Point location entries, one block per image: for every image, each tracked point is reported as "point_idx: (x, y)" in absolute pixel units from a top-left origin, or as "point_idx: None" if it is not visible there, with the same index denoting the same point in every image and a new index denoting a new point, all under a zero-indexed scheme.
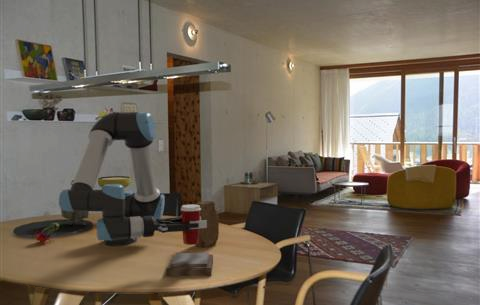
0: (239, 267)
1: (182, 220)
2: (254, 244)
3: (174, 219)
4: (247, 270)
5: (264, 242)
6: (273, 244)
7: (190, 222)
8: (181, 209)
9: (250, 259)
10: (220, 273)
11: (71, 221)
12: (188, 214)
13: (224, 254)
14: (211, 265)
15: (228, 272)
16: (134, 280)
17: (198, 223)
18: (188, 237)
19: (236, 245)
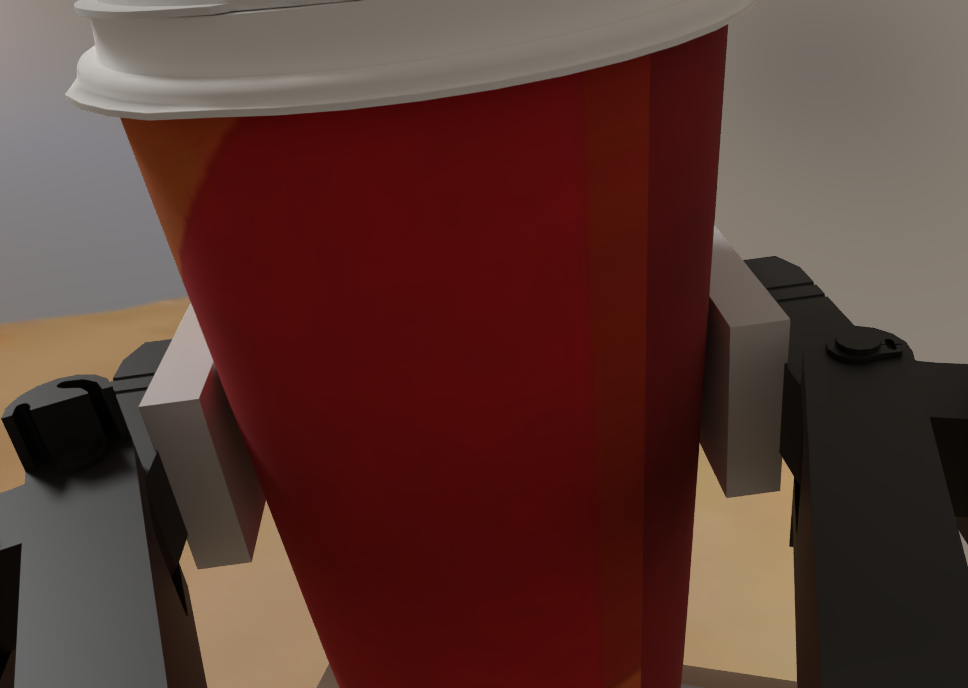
0: None
1: (512, 445)
2: (91, 367)
3: (146, 665)
4: (703, 468)
5: (96, 325)
6: (176, 299)
7: (778, 324)
8: (452, 57)
9: None
10: (778, 662)
11: None
12: (718, 129)
13: (186, 556)
14: (792, 681)
15: (748, 594)
16: None
17: (769, 257)
18: (675, 676)
19: (12, 453)
